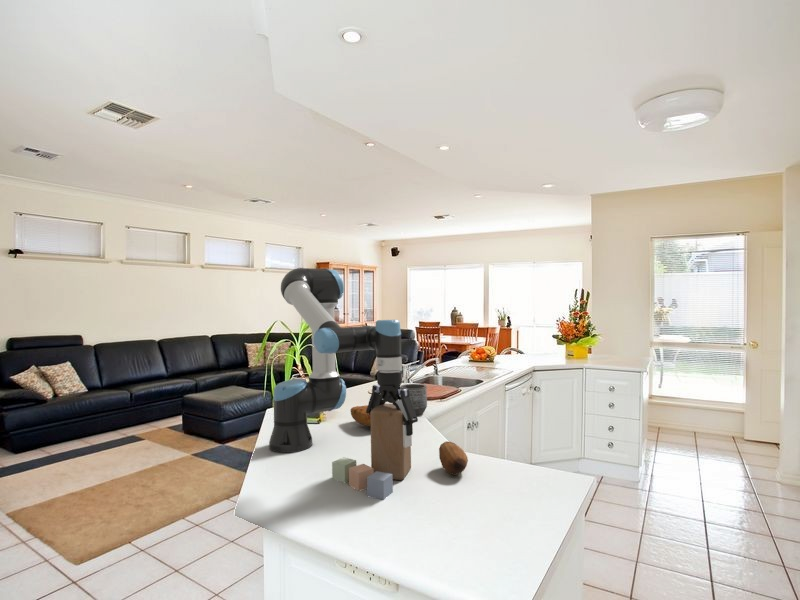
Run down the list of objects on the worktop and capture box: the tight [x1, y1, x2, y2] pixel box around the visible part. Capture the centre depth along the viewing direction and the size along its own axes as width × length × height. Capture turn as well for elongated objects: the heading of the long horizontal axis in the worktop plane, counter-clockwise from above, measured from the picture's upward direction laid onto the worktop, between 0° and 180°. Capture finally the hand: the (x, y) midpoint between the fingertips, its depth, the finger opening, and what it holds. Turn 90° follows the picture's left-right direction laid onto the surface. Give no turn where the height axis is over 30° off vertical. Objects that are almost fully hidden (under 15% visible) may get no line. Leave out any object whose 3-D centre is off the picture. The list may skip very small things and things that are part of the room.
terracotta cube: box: [348, 463, 374, 492], centre depth 125 cm, size 5×5×5 cm
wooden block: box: [370, 402, 412, 481], centre depth 133 cm, size 10×10×20 cm
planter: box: [400, 383, 428, 417], centre depth 205 cm, size 12×12×13 cm
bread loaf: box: [350, 404, 371, 427], centre depth 187 cm, size 22×17×8 cm
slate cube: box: [366, 471, 394, 501], centre depth 119 cm, size 5×5×5 cm
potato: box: [438, 441, 469, 476], centre depth 134 cm, size 8×14×8 cm
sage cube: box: [331, 456, 357, 483], centre depth 130 cm, size 5×5×5 cm
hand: (391, 442), depth 133 cm, fingers closed on wooden block, 13 cm apart
